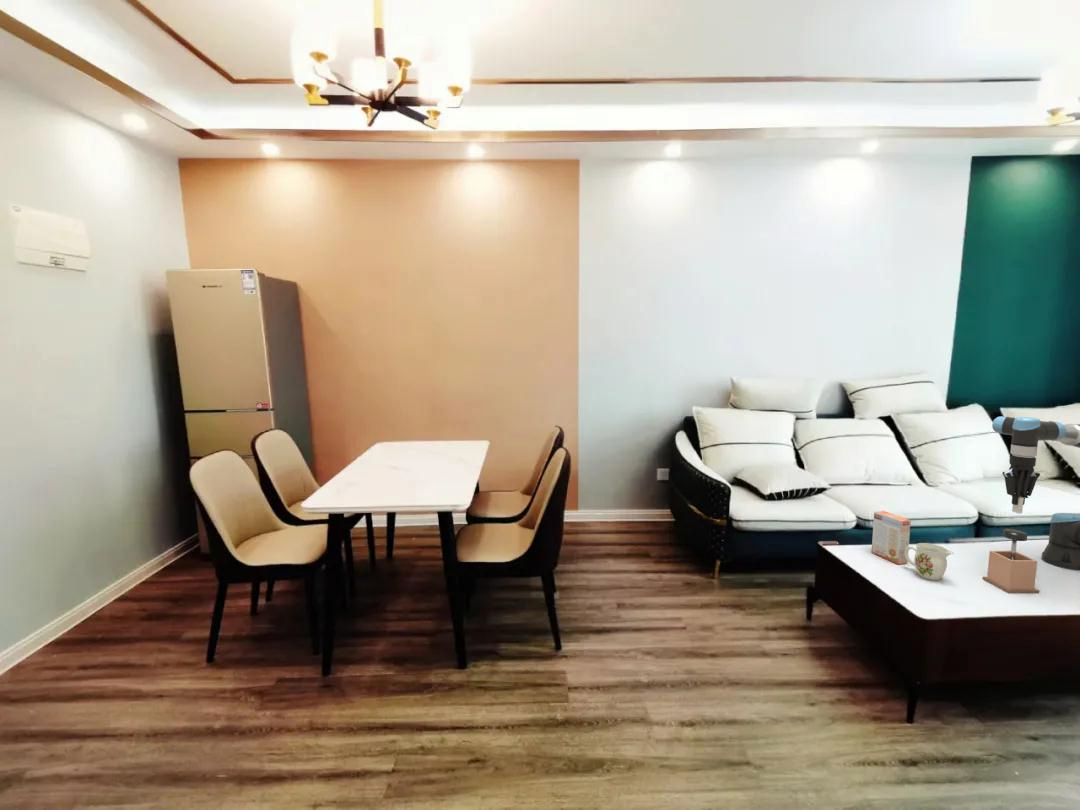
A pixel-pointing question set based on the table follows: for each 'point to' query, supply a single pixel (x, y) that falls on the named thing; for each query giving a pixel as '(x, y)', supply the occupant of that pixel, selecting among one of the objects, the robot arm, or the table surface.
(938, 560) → the pitcher
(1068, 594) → the table surface
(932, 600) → the table surface
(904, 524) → the cracker box
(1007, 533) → the plunger
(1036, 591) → the open square box
